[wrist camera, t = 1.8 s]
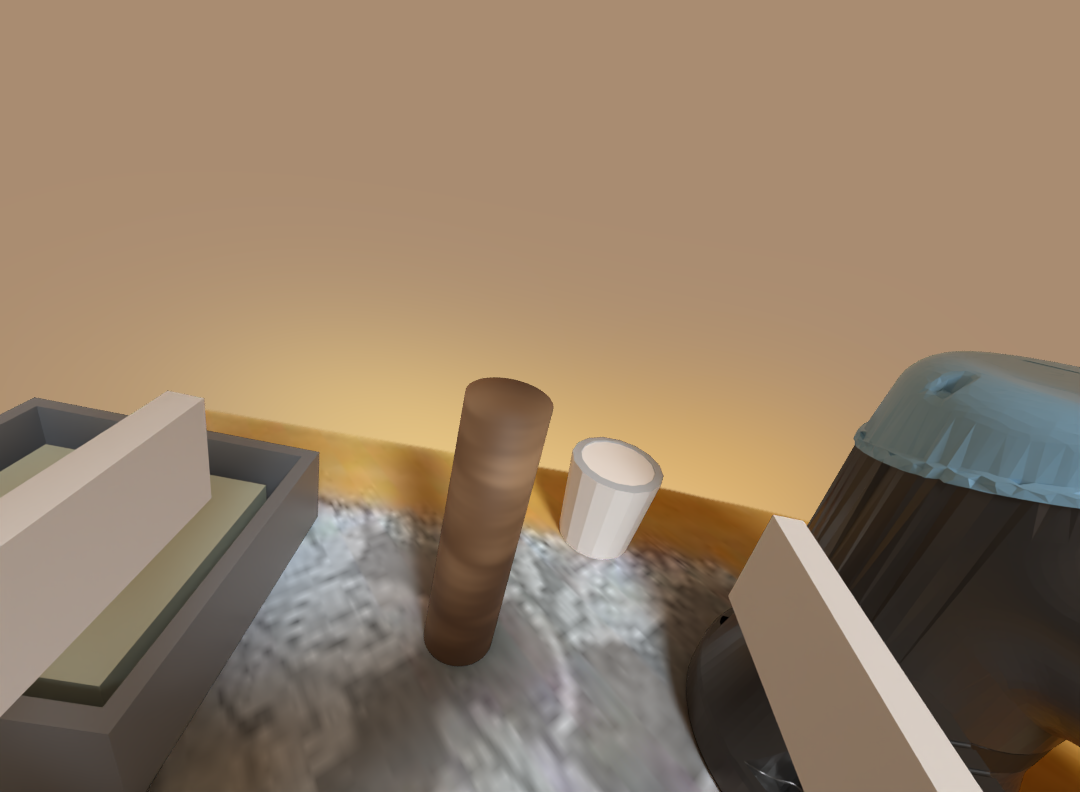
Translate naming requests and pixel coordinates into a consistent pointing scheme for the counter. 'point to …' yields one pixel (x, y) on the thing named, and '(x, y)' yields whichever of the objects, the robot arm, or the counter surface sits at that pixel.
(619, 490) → the white cup
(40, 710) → the open box
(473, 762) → the counter surface
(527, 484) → the peg
